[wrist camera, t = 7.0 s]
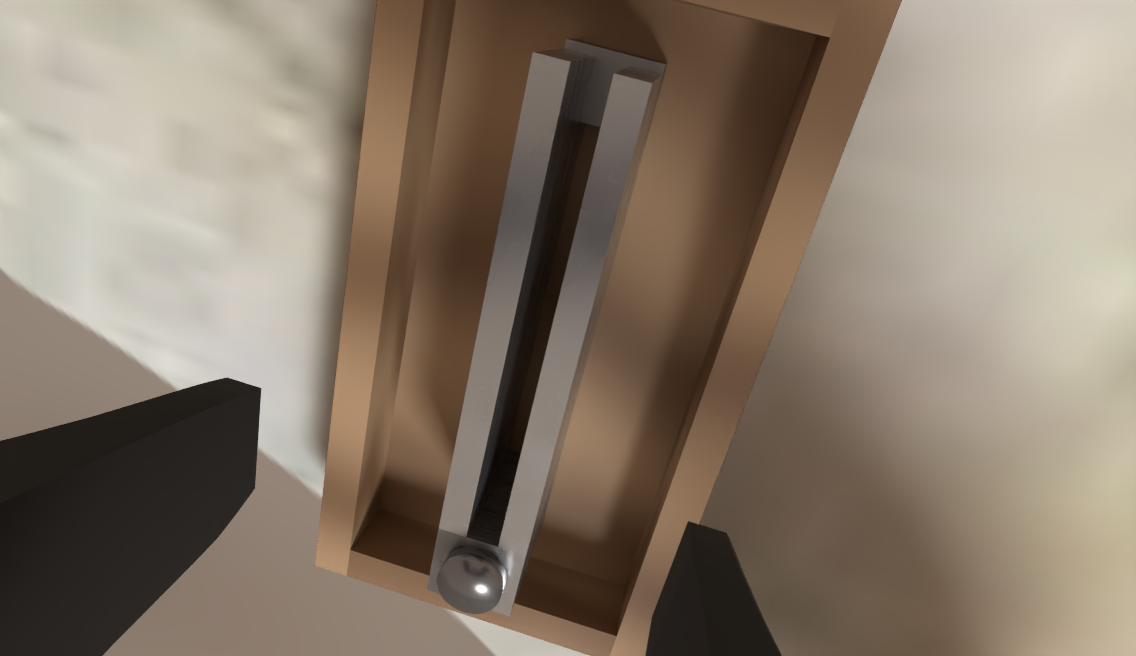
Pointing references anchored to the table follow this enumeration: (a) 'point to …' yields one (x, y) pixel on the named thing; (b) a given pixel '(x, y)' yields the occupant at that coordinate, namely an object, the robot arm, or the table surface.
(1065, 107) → the table surface
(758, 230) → the wooden tray
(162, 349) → the table surface
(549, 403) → the slotted metal channel
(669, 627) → the robot arm
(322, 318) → the table surface
